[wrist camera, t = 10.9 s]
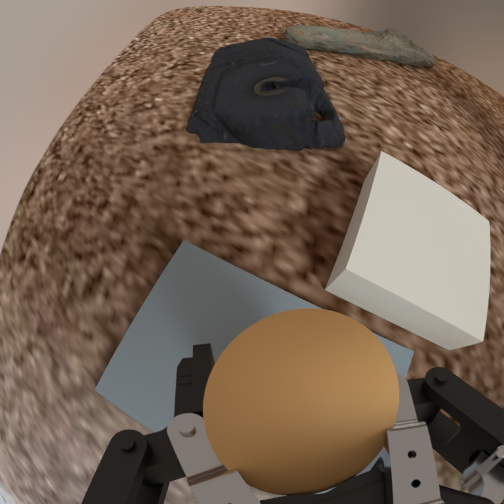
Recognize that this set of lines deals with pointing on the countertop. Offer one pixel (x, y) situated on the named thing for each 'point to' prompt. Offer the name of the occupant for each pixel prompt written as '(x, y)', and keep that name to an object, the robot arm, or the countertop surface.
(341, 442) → the tan rounded cylinder
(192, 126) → the black flat bumpy piece
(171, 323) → the mat
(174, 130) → the countertop surface
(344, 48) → the long grey stone
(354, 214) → the white square block
